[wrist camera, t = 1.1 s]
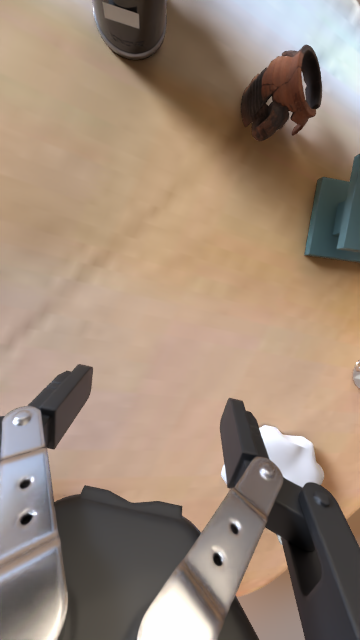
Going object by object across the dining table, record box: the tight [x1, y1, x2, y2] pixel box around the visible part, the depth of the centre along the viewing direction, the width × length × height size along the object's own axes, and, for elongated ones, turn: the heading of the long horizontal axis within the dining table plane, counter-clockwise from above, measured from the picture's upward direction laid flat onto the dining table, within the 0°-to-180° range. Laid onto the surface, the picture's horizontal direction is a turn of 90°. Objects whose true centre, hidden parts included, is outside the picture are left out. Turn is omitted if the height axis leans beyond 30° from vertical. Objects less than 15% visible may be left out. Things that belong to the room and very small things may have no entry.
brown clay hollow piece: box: [241, 45, 322, 141], centre depth 32 cm, size 12×10×8 cm
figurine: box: [221, 425, 324, 544], centre depth 37 cm, size 20×18×16 cm
